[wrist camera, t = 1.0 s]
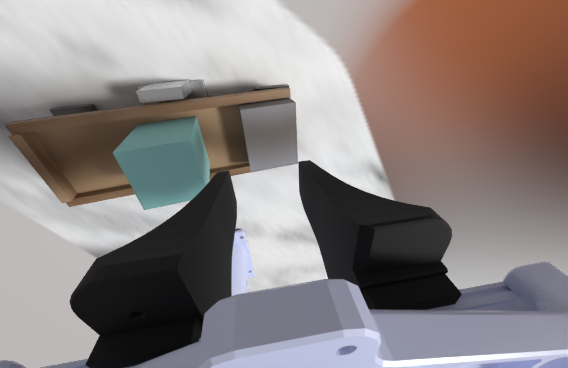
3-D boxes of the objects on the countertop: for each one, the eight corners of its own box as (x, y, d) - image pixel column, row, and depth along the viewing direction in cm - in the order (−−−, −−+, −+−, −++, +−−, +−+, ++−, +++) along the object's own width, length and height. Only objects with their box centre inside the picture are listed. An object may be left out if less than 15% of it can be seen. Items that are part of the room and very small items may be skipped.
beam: (285, 152, 22) (298, 170, 19) (85, 188, 19) (59, 217, 16) (281, 83, 19) (295, 92, 16) (33, 113, 15) (-14, 132, 12)
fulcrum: (291, 157, 23) (297, 173, 20) (101, 181, 22) (80, 201, 19) (287, 70, 19) (293, 75, 16) (45, 93, 17) (8, 103, 14)
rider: (209, 163, 19) (208, 196, 15) (159, 172, 18) (144, 209, 14) (196, 116, 17) (190, 140, 12) (138, 124, 16) (112, 152, 12)
